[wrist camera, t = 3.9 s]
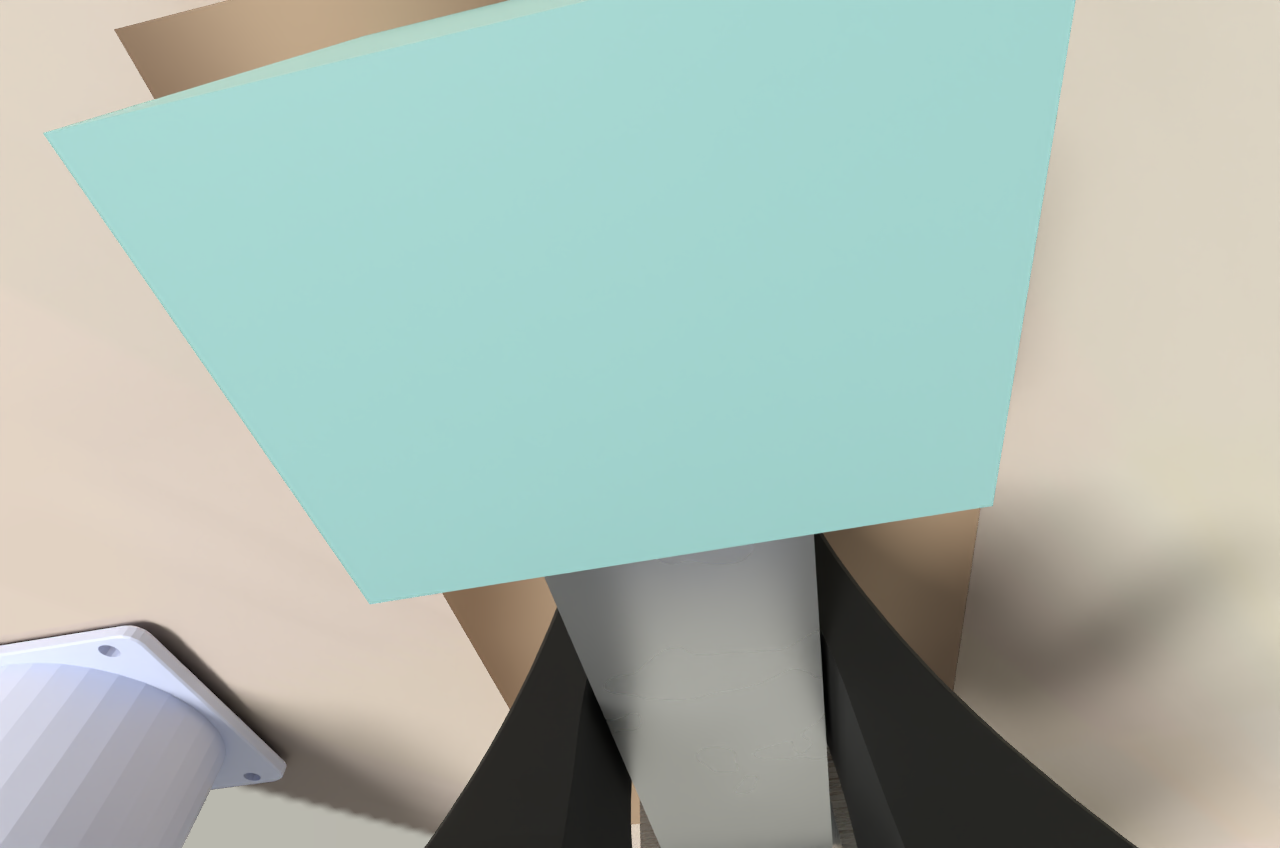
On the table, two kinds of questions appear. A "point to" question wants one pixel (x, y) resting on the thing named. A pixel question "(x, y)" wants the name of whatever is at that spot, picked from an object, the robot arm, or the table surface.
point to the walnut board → (522, 610)
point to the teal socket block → (605, 270)
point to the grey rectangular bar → (712, 689)
